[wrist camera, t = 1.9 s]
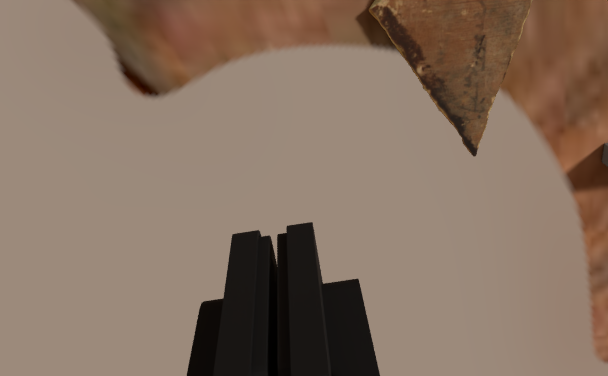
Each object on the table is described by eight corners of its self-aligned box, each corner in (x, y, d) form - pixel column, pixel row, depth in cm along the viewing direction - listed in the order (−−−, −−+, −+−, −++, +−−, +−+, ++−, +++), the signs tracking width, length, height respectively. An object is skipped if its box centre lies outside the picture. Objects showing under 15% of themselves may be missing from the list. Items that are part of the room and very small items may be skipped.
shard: (466, 146, 30) (477, 160, 28) (338, 126, 29) (342, 139, 27) (540, -57, 25) (558, -54, 23) (387, -90, 24) (395, -89, 22)
